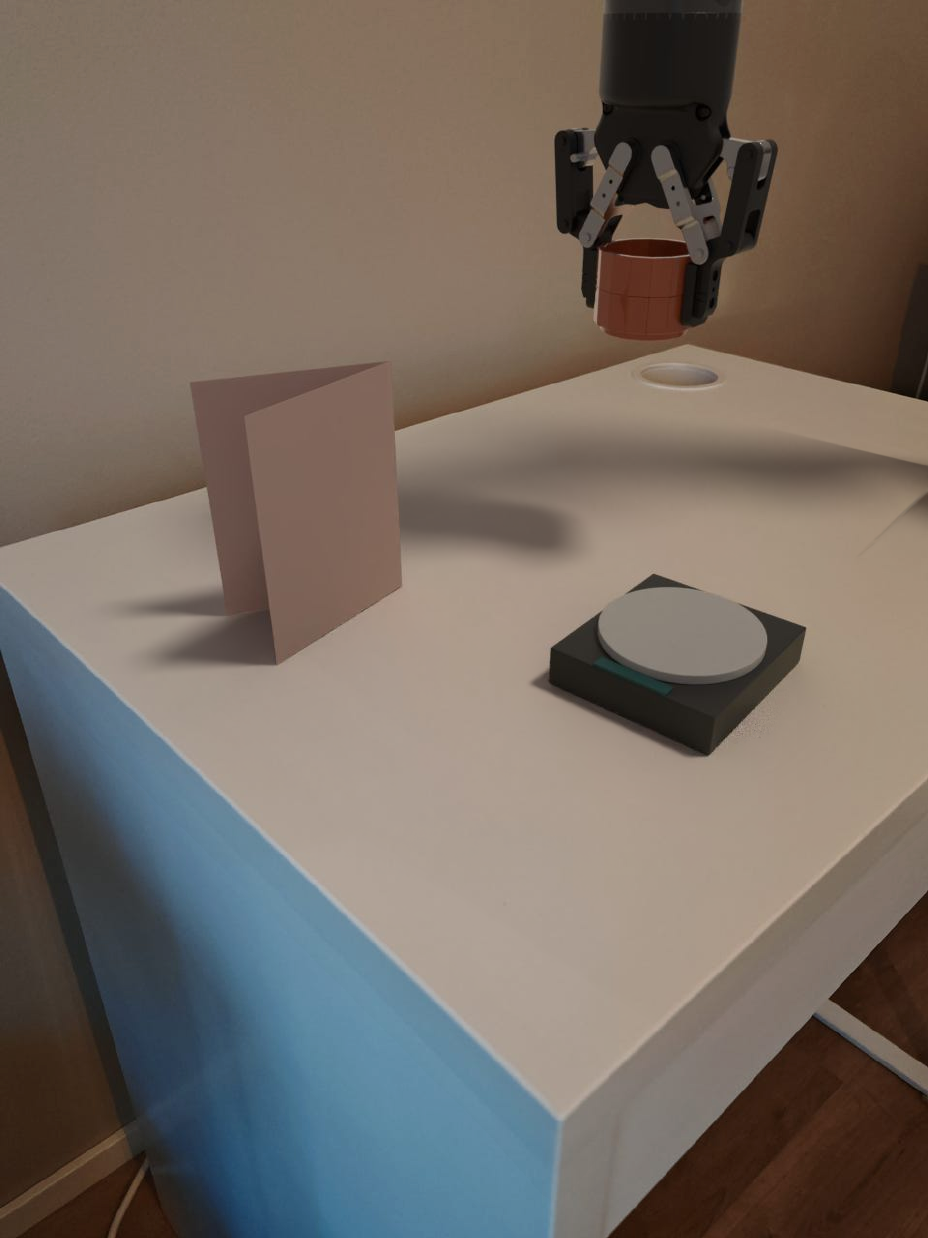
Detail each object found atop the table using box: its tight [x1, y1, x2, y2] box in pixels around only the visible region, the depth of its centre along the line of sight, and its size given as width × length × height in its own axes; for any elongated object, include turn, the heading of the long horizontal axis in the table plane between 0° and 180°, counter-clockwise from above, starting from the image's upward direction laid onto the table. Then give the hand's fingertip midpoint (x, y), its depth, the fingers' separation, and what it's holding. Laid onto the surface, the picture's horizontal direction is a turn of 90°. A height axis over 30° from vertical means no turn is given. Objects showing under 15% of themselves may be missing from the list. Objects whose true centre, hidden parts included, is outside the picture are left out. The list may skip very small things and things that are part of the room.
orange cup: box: [593, 237, 694, 342], centre depth 61 cm, size 6×6×5 cm
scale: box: [548, 573, 807, 756], centre depth 54 cm, size 11×10×3 cm
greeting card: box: [189, 360, 403, 665], centre depth 56 cm, size 11×7×15 cm, turn 109°
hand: (644, 314), depth 62 cm, fingers closed on orange cup, 6 cm apart
